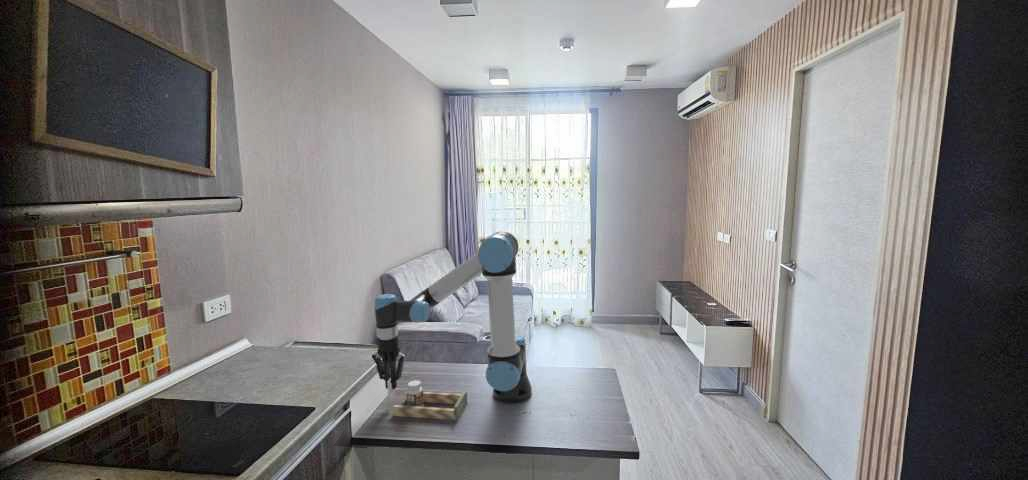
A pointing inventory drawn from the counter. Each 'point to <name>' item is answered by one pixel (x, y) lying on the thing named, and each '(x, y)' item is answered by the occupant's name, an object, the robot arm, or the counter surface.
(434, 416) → the bay
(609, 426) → the counter surface
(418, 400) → the pill bottle
